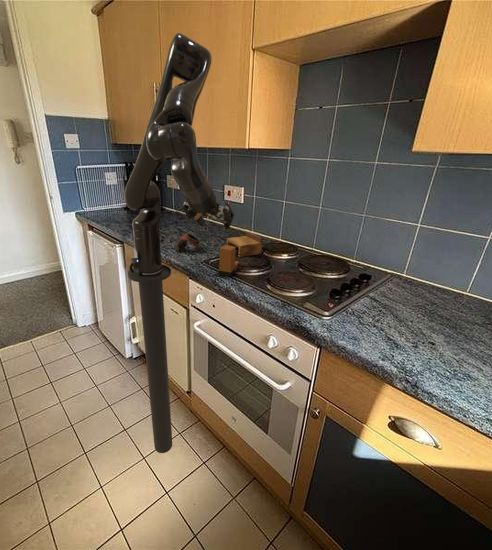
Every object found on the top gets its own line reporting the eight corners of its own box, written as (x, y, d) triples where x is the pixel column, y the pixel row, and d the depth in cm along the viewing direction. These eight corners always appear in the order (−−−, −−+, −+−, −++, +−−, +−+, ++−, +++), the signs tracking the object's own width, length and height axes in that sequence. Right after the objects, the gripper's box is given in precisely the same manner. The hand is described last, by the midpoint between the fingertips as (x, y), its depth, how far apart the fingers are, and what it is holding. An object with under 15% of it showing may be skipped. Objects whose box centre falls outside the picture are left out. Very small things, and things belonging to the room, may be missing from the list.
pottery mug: (179, 246, 140) (188, 231, 138) (195, 258, 138) (204, 243, 136) (167, 247, 128) (177, 231, 126) (185, 260, 127) (194, 243, 125)
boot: (230, 276, 108) (231, 250, 104) (218, 274, 109) (219, 248, 106) (239, 268, 116) (240, 243, 112) (228, 266, 117) (228, 241, 113)
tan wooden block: (239, 257, 127) (240, 241, 124) (226, 248, 137) (226, 233, 134) (261, 253, 132) (262, 238, 129) (247, 245, 142) (247, 231, 139)
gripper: (226, 181, 77) (240, 217, 91) (178, 178, 82) (198, 213, 96) (218, 205, 75) (233, 238, 89) (169, 201, 80) (190, 233, 94)
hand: (215, 225), depth 93 cm, fingers open, 8 cm apart
